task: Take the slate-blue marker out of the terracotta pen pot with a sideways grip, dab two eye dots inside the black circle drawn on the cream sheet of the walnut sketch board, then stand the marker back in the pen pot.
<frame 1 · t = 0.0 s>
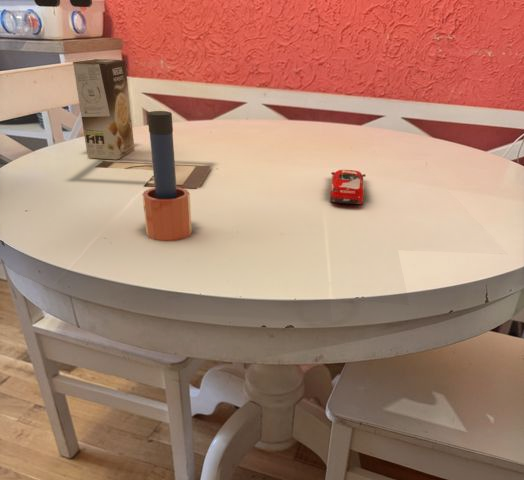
hand: (66, 6, 51), 24 cm above the table, tool pointing down, fingers open, 8 cm apart
coffee box: (112, 154, 99), on the table
pen pot: (169, 236, 64), on the table
race car: (346, 197, 80), on the table
marker: (169, 232, 64), resting on pen pot
sketch board: (146, 177, 86), on the table
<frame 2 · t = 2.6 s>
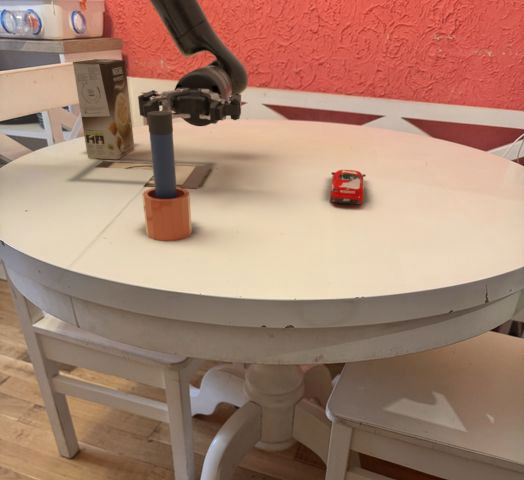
hand: (181, 114, 66), 13 cm above the table, tool horizontal, fingers open, 8 cm apart
nothing on the table moved.
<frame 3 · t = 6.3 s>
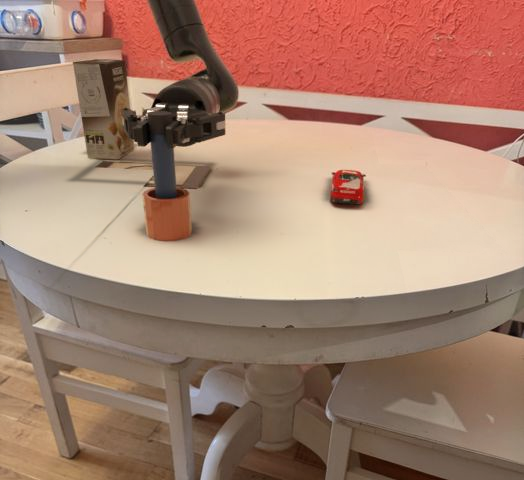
hand: (155, 137, 55), 12 cm above the table, tool horizontal, fingers closed on marker, 2 cm apart
marker: (169, 232, 64), point 1 cm above the table, touching gripper, pen pot
everything else where it was.
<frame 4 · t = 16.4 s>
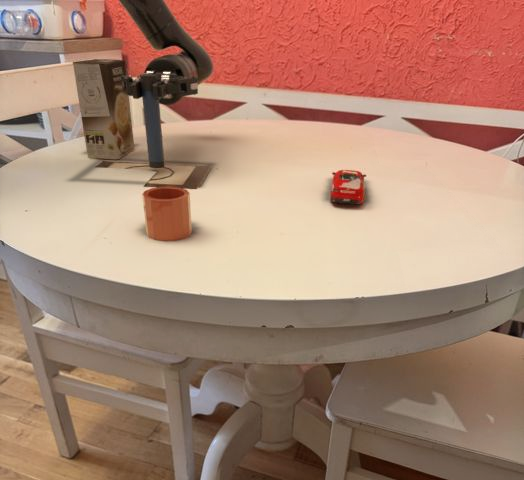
hand: (145, 91, 77), 13 cm above the table, tool horizontal, fingers closed on marker, 2 cm apart
marker: (157, 166, 87), point 1 cm above the table, touching gripper
everything else where it was.
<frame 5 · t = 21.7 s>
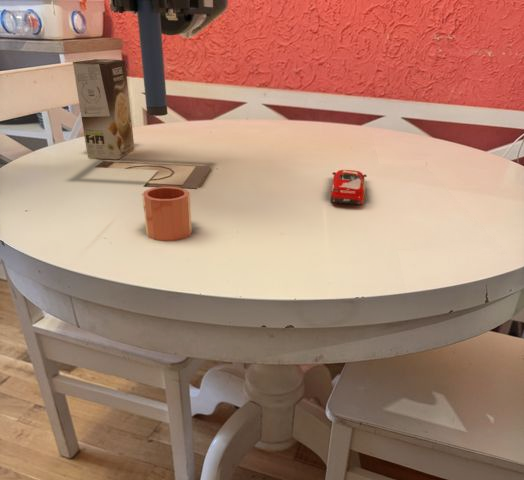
marker: (157, 114, 64), point 13 cm above the table, touching gripper
everything else where it was.
when the fingers open (13 cm above the table, at t = 26.5 s): marker stays where it is, resting on pen pot.
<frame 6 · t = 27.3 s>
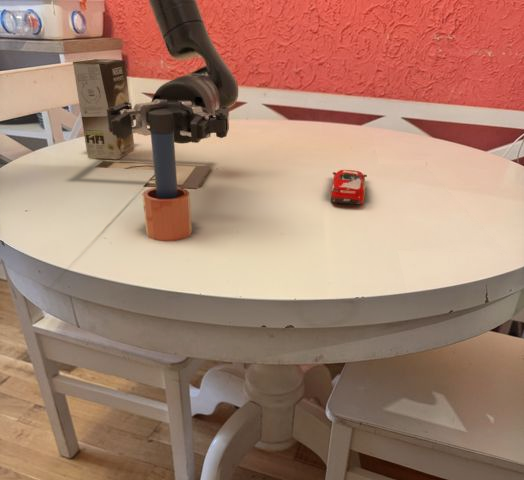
hand: (156, 131, 55), 13 cm above the table, tool horizontal, fingers open, 8 cm apart
marker: (170, 231, 64), resting on pen pot
everything else where it was.
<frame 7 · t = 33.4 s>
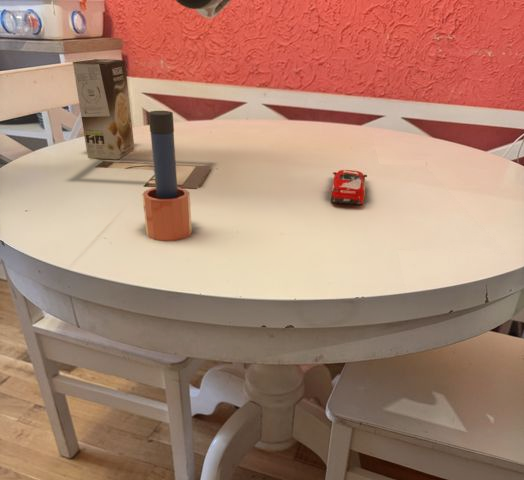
nothing on the table moved.
at the end: marker 0.3 cm off-centre in the pen pot, point 0.5 cm above the pen pot's base; marker tilted 0°; marker touching pen pot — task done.
